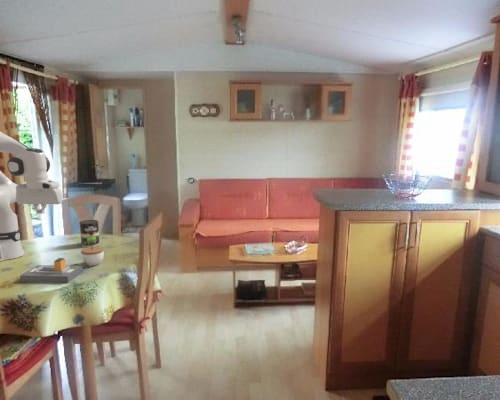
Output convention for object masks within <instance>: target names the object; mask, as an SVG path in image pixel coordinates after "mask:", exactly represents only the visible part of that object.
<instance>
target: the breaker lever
mask: <svg viewBox="0 0 500 400" xmlns="http://www.w3.org/2000/svg"><path fill="white" fill-rule="evenodd" d="M53 265H54V267H55V272H61V270H63V269H64V268H66V266H67V264H66V258H63V257H58V258H57V259H55V260H54V261H53Z"/></svg>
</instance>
